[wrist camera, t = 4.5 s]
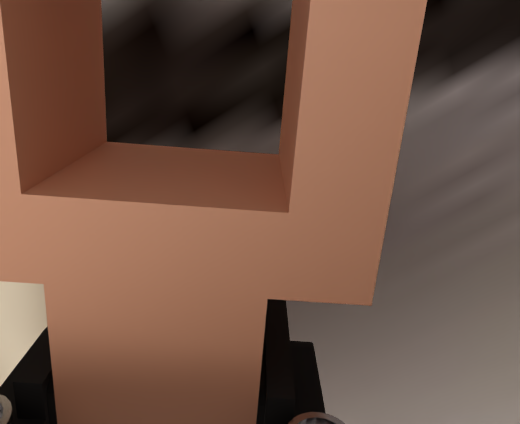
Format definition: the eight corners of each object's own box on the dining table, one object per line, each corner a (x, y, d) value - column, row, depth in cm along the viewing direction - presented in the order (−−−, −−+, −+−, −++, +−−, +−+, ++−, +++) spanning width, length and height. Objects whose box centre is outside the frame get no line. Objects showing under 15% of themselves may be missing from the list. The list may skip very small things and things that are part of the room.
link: (15, -151, 9) (-175, -306, 5) (380, -119, 9) (471, -245, 5) (78, 540, 15) (16, 704, 11) (287, 551, 15) (296, 717, 11)
